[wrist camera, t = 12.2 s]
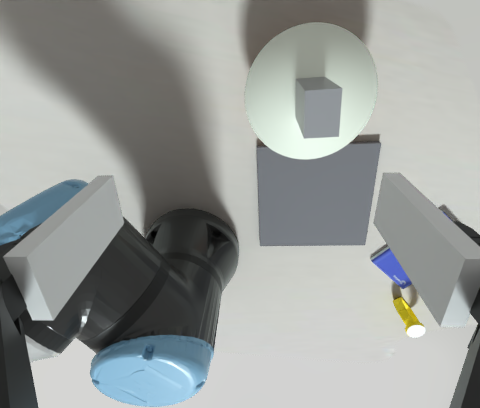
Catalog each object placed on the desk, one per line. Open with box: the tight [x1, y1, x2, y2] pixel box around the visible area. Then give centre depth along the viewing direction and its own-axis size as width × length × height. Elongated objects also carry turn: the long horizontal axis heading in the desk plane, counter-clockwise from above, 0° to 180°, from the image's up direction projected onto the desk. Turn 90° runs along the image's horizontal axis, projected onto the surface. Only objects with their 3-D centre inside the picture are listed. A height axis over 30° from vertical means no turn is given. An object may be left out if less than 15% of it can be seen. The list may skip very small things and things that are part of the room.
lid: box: [245, 22, 378, 159], centre depth 30 cm, size 14×14×9 cm
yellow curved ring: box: [393, 297, 425, 337], centre depth 52 cm, size 6×3×6 cm, turn 42°
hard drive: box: [370, 210, 453, 289], centre depth 49 cm, size 2×8×12 cm
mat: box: [257, 141, 381, 246], centre depth 45 cm, size 16×16×1 cm
